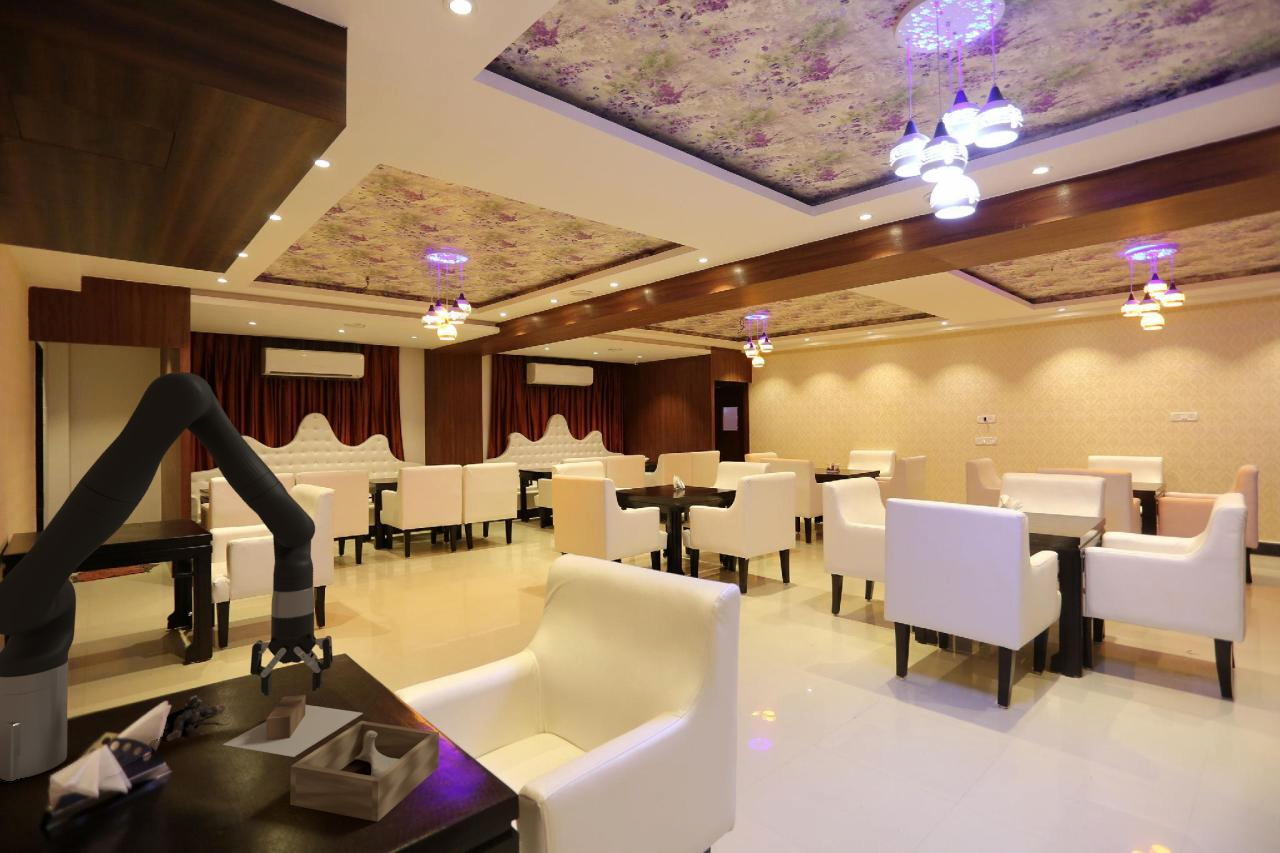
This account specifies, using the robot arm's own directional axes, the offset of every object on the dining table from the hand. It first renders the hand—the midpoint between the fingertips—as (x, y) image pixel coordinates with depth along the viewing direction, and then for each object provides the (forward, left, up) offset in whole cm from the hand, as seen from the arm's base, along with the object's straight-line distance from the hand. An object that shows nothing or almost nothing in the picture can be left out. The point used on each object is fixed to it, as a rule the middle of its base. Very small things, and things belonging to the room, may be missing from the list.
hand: (292, 692), depth 125 cm
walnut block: (+2, +1, -4) cm, 5 cm away
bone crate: (-14, -29, -6) cm, 33 cm away
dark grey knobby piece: (-5, +18, -7) cm, 20 cm away
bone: (-13, -31, -7) cm, 34 cm away
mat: (-2, -3, -6) cm, 7 cm away
